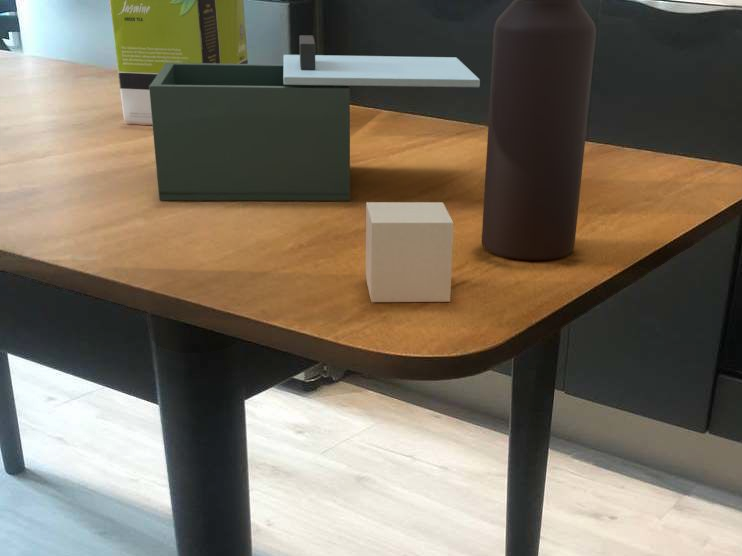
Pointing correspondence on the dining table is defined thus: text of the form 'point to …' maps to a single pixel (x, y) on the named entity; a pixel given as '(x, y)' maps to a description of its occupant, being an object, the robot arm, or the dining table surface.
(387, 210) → the block
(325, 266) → the dining table surface
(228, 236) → the dining table surface
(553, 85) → the bottle
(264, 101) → the open storage box
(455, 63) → the sliding lid with knob
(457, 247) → the dining table surface
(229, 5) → the tea box
